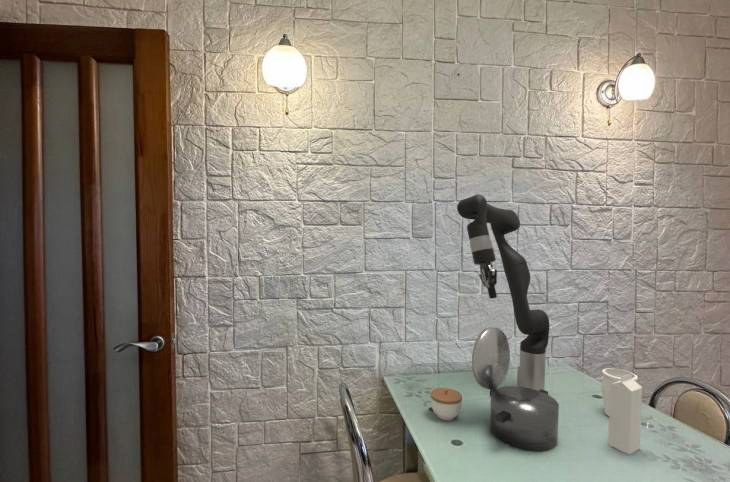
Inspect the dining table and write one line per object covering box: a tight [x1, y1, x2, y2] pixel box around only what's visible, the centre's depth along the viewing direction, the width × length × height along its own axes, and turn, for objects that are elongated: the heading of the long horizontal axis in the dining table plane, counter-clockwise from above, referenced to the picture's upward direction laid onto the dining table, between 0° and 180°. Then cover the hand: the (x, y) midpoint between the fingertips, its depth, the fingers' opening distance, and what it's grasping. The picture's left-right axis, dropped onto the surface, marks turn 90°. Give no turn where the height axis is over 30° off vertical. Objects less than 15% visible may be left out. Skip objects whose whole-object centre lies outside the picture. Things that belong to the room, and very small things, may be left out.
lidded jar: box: [430, 387, 463, 421], centre depth 133 cm, size 11×11×9 cm
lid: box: [471, 326, 511, 391], centre depth 131 cm, size 20×20×3 cm
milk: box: [607, 374, 643, 455], centre depth 115 cm, size 6×6×22 cm
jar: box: [601, 367, 639, 417], centre depth 134 cm, size 11×10×15 cm
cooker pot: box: [489, 385, 560, 453], centre depth 123 cm, size 21×28×11 cm
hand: (493, 298), depth 134 cm, fingers closed
